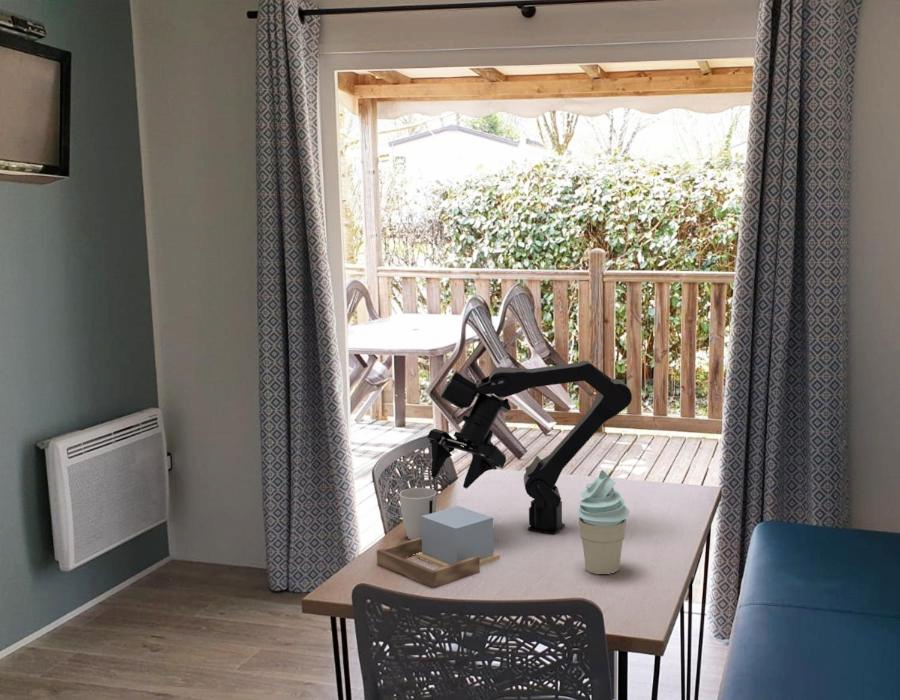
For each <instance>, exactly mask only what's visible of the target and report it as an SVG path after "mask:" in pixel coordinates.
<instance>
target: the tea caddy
mask: <svg viewBox="0 0 900 700" xmlns="http://www.w3.org/2000/svg"><path fill="white" fill-rule="evenodd" d="M421 533H422V552H420V553H417V554H416V555H415V558H416V557H418V558H422V559H424V560H427V561H428V562H431V563H433V564H435V565H434V566H436V565H437V566H436V567H438V566H439V567H438V568H441V567H444V566H447V565H450V564H453V563H456V562H459V561H462V560H465V559H468V558H471V557H474V556H478V557H479V562H480V566H482V565H485V564H488V563H491V562H494V561H497V560H500V558H501V555H500V554H498V553H496V552H494V549H495V548H494V517H492V516H489V515H486V514H484V513H481V512H477V511H475V510H470V509H467V508H465V507H462V506H459V505H456V506H452V507H449V508H446V509H442V510H439V511H436V512H435V513H431V514H427V515H424V516H421ZM418 558H417V559H418ZM428 562H427V563H428ZM431 563H430V564H431ZM433 564H432V565H433Z"/></svg>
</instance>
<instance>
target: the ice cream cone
mask: <svg viewBox="0 0 900 700" xmlns="http://www.w3.org/2000/svg"><path fill="white" fill-rule="evenodd" d="M616 484H617V482H616V481H614V480H613V479H612V478H611V477H610V476H609V474H608V473H606V471H605V470H604V469H603V470H600V472H599V474H598V477H597V478H596V479H594V481H593V482H592V483H587V484H586V485H585V486H586V490H584V491H582V492H581V493H580V496H581V498H583V499H582V500H580V501H579V504H580V505H579V508H578V510H577V515H578V526H579V534H580V539H581V542H582V550H583V551H582V552H583V556H584V557H583V558H584V567H585V570H586V571H587V572H589V573H590V574H593V573H594V574H593V575H598V574H608V573H613V572H616V571H618V570H619V571H620V565H621V556H622V549H623V542H624V540H625V533H626V526H627V520H626V519H627V518H628V517H629V515H630V510H629V508H628V507H627V506H626V505H625V504H626V503H625V500H624V498H623V497H622V496H621V494H620V492H618V490H615V489H614V487H615V486H616ZM619 571H618V572H619ZM616 573H617V572H616Z"/></svg>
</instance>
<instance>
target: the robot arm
mask: <svg viewBox="0 0 900 700" xmlns="http://www.w3.org/2000/svg"><path fill="white" fill-rule="evenodd" d="M578 382H585V383H587V384H588V385H589V386H591V388H593V389H594V390H595V391H597V392H598V393H597V394H596V396H595V399H594V401H593V403H592V405H591V407H590V409H588V411H587V412H586V413H585V414H584V416H583V417H582V418H581V419H580V420H578V422H577V423H576V425H574V427H573V428H572V429H571V430H570V431H569V432H568V433H567V434H566V436H565V437H564V438H563V439H562V440H561V441H560V443H558V445H556V446H555V448H554V449H553V450H552V452H551V453H550V454H548V455H547V456H545V457H544V458H542V459H541V458H540V457H539V456H538V455H536V456H535V458H534V459H533V460H532V462H531V463H530V464H529V465H528V466H526V467H525V469H524V470H525V472H524V474H523V485H524V489H525V492H526V494H527V495H528V496H529V497H530V498H532V501H530V507H528V524H529V526H528V527H527V530H528V531H530V532H539V533H545V534H552V535H555V534H557V533H558V532H559V531H561V530H562V529H564V527H566V523H563V501H562V497H561V494H560V492H559V488H558V486H557V485H556V483H557V482H558V479H559V478H560V476H561V473H562V471H563V470H564V468H565V467H566V466H567V465H568V464H569V462H570V461H571V460H572V459H574V457H575V456H576V455H577V454H578V452H579V451H580V450H581V449H582V448H583V447H584V446H585V445H586V444H587V442H588V441H589V440H590V439H591V438H592V437H593V436H594V435H595V434H596V432H597V431H598V430H599V429H600V428H601V427H602V426H603V424H604V423H606V422H607V421H609V420H611V419H613V418H614V417H616V416H618V415H619V414H620V413H621V412H622V411H624V410H625V409H626V408H628V407H629V405H630V404H631V402H632V399H633V396H632V392H631V389H630V388H629V387H628V386H627V385H626V383H625V381H622V380H620V379H617V378H611V377H609V376H608V375H607V374H605V373H604V372H603V371H601V370H600V369H599V368H597V367H596V366H595V365H594V364H593V363H592V362H591V361H589V360H582V361H579V362H571V363H566V364H557V365H550V366H543V367H541V366H540V367H535V368H519V367H510V366H507V367H506V366H501V367H500V366H499V367H495V368H494V369H493V370H491V372H490V373H489V375H488V376H485V377H483V378H481V379H478V380H476V381H473V380H471V379H470V378H469V377H467V376H464V374H462V373H461V372H459V371H458V370H455V371H454V373H453V375H452V376H451V377H450V378H449V380H448V381H447V382H446V384H445V385H444V387H443V389H442V391H441V392H440V395H439V398H441V399H443V400H444V401H446V402H448V403H449V404H451V405H453V406H455V407H457V408H458V409H460V410H463V409H467V408H468V409H469V408H470V407H471V405H472V404H473V405H472V408H471V409H470V411H469V413H468V415H465V414H464V415H463V416H462V418H461V420H462V421H463V422H464V423H463V424H462V427H461V428H460V431H459V432H458V431H455V432H454V434H453V437H454V438H455V439H454V438H453V437H452V436H451V435H450V434H449V432H447V431H445V430H441V429H437V428H433V429H430V431H429V433H428V435H427V436H426V439H427V440H428V441H429V442H428V443H429V444H430V445H431V470H430V471H431V473H430V475H431V478H433V479H436V478H437V476H438V475H439V473H440V471H441V470H442V467H443V466H444V464H445V462H446V460H447V459H448V458H450V457H452V456H453V454H452V452H453V451H455V450H459V451H461V452H466V453H468V454H470V455H471V456H472V457H471V458H472V459H471V461H470V464H469V467H468V470H467V472H466V475H465V478H464V480H463V481H464V482H463V486H462V487H463V488H464V489H468V488H469V487H471V486H472V484H473V483H474V482H476V480H478V479H479V478H480V477H481V476H482V475H483V474H485V473H486V472H487V471H492V470H495V471H496V470H497V469H498V468H500V469H503V468H504V466H505V464H506V462H507V455H506V454H505V453H504V452H503V451H502V450H501V449H500V448H499V447H498V446H497V445H494V443H493V442H492V437H493V434H494V431H493V430H492V427H493V425H494V424H495V422H496V419H497V417H498V415H499V413H500V412H503V413H504V414H505V413H506V414H507V413H508V412H509V411H511V409H512V408H511V405H510V403H509V399H508V398H507V397H509V396H513V395H517V394H520V393H521V392H525V391H526V390H529V389H532V388H540V387H544V386H545V387H547V386H554V385H561V384H569V383H578ZM475 398H476V400H475ZM501 398H505V399H501ZM474 400H475V402H474ZM473 402H474V403H473Z"/></svg>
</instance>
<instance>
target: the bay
mask: <svg viewBox="0 0 900 700" xmlns="http://www.w3.org/2000/svg"><path fill="white" fill-rule="evenodd" d="M419 552H422V537H419V538H416V539H413V540H410V539H409V540H407V541H404V542H400V543H397V544H393V545H391V546H387V547H384V548H379V549H377V550H376V565H377V564H378V566H380V567H382V568H384V567H385V569H387V570H389V569H390V571H391V570H393V571H392V572H394V571H395V572H394V573H396V572H398V573H400V574H399V575H401V574H403V575H405V576H407V577H406V578H408V577H409V579H410V578H411V580H413V579H414V580H413V581H415V580H416V581H415V582H417V581H419V582H418V583H420V582H421V583H420V584H422V583H423V584H422V585H424V584H426V585H425V586H427V585H428V586H427V587H429V586H430V588H431V587H432V589H434V588H437V587H440V586H443V585H445V584H448V583H451V582H453V581H457V580H460V579H463V578H465V577H469V576H471V575H474V574H477V573H479V572H481V571H480V566H481V565H480V562H479V557H478V556H474V557H471V558H468V559H465V560H462V561H459V562H456V563H453V564H450V565H447V566H444V567H438V568H435V569H431V568H428V567H426V566H423V565H421V564H419V563H416V562H413V561H412V560H411V561H410V560H409V559H406V558H408V557H407V556H409V557H411V556H410V555H413V554H416V553H419ZM413 556H414V555H413ZM405 557H406V558H405ZM398 573H397V574H398ZM403 575H402V576H403ZM405 576H404V577H405ZM436 586H437V587H436Z"/></svg>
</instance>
